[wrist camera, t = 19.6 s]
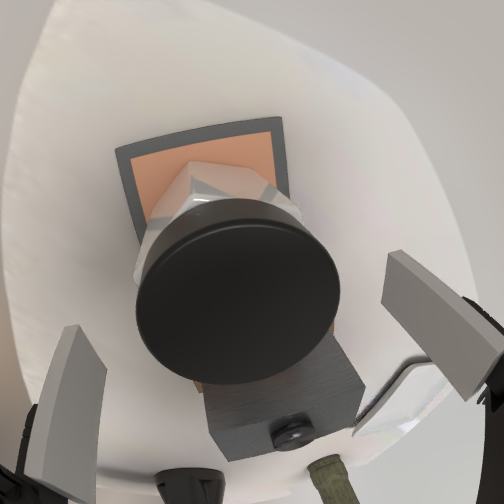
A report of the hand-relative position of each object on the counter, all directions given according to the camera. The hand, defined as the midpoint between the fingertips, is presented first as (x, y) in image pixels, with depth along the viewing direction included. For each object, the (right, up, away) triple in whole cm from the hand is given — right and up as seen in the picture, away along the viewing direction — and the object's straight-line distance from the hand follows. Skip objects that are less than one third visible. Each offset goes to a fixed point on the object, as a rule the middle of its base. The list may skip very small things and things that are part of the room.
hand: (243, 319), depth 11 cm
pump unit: (+1, -7, +18) cm, 19 cm away
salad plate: (+32, -25, +36) cm, 54 cm away
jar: (-3, +5, +10) cm, 12 cm away
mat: (-3, +6, +11) cm, 12 cm away
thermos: (+18, -51, +45) cm, 70 cm away
